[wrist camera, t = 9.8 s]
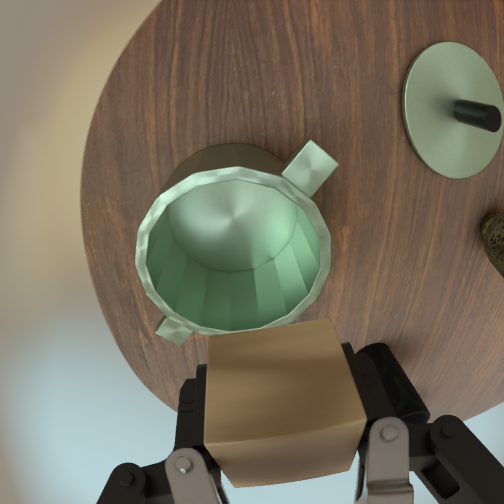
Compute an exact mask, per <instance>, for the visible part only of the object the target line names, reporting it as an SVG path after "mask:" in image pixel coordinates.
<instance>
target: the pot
mask: <svg viewBox="0 0 504 504" xmlns="http://www.w3.org/2000/svg"><path fill="white" fill-rule="evenodd" d="M338 165H339V163H338V162H337V161H336V160H335V159H334V158H332V157H331V156H330V155H329V154H328V153H327V152H326V151H324V150H323V149H322V148H321V147H320V146H319V145H317V144H316V143H315V142H314V141H313V140H312V139H310V138H308V137H306V138H305V139H304V141H303V142H302V143H301V144H300V145H299V147H298V148H297V149H296V150H295V151H294V153H293V154H292V155H291V156H290V157H289V158H288V160H287V161H286V162H285V163H283V162H282V161H281V160H279V159H278V158H277V157H275V156H274V155H272V154H271V153H269V152H268V151H266V150H263V149H260V148H257V147H254V146H250V145H245V144H238V143H237V144H236V143H233V144H221V145H216V146H212V147H208V148H205V149H203V150H201V151H199V152H197V153H195V154H194V155H192V156H191V157H189V158H188V159H187V160H185V161H184V162H182V163H181V164H179V165H178V167H177V168H176V170H175V171H174V172H173V174H172V175H171V177H170V178H169V180H168V181H167V183H166V184H165V186H164V187H163V189H162V190H161V192H160V193H159V195H158V196H157V198H156V200H155V201H154V203H153V204H152V206H151V208H150V209H149V211H148V212H147V214H146V216H145V217H144V219H143V221H142V222H141V224H140V226H139V227H138V231H137V241H136V252H135V265H136V268H137V271H138V274H139V277H140V279H141V282H142V285H143V287H144V290H145V293H146V294H147V296H148V297H149V298H150V299H151V300H152V301H153V302H154V303H155V304H156V306H157V307H158V308H159V309H160V310H161V311H162V312H163V313H164V314H165V315H164V316H163V318H162V319H161V320H160V322H159V323H158V324H157V327H156V331H155V333H156V334H157V335H159V336H161V337H163V338H165V339H167V340H169V341H171V342H173V343H175V344H177V345H179V346H181V345H182V344H183V343H184V342H185V340H186V339H187V338H188V337H189V336H190V335H191V334H192V333H193V331H194V332H196V333H199V334H204V335H210V336H211V335H219V334H227V333H235V332H242V331H250V330H257V329H263V328H270V327H277V326H283V325H286V324H288V323H291V322H293V321H294V320H295V319H296V318H297V317H298V316H299V315H301V314H302V313H303V312H304V311H305V310H306V309H307V308H308V307H309V306H310V305H311V304H312V303H313V302H314V301H315V300H316V299H317V298H318V296H319V294H320V291H321V289H322V287H323V285H324V283H325V281H326V278H327V276H328V274H329V272H330V268H331V234H330V232H329V229H328V227H327V225H326V223H325V221H324V219H323V217H322V215H321V213H320V211H319V209H318V207H317V205H316V203H315V202H314V200H313V199H312V196H313V194H314V193H315V192H316V191H317V190H318V189H319V187H320V186H321V185H322V184H323V183H324V182H325V180H326V179H327V178H328V177H329V176H330V175H331V174H332V172H333V171H334V170H335V169H336V168H337V167H338Z"/></svg>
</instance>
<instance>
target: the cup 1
mask: <svg viewBox="0 0 504 504" xmlns="http://www.w3.org/2000/svg"><path fill="white" fill-rule="evenodd" d="M363 352H364V353H365V354H366V355H367V356H368V357H370V358H371V359H372V360H373V362H374V364H375V367H376V369H377V372H378V373H379V376H380V378H381V382H382V383H383V385H384V388H385V390H386V392H387V395H388V397H389V400H390V402H391V405H392V407H393V409H394V412H395V414H396V415H397V416H398V417H399V418H400V419H401V420H403V421H404V422H407V423H411V424H426V423H427V421H428V420H429V418H430V412H429V411H428V409H427V407H426V406H425V404H424V402H423V401H422V399H421V398H420V396H419V394H418V393H417V391H416V390H415V388H414V386H413V385H412V383H411V382H410V380H409V378H408V377H407V375H406V374H405V372H404V371H403V369H402V367H401V366H400V364H399V363H398V361H397V360H396V358H395V357H394V355H393V354H392V352H391V351H390V349H389V348H388V346H387V345H385V344H382V343H376V344H371V345H368V346H366V347H364V348H363V349H361V350H360V351H359V352H357V353H356V354H358V353H363Z"/></svg>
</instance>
